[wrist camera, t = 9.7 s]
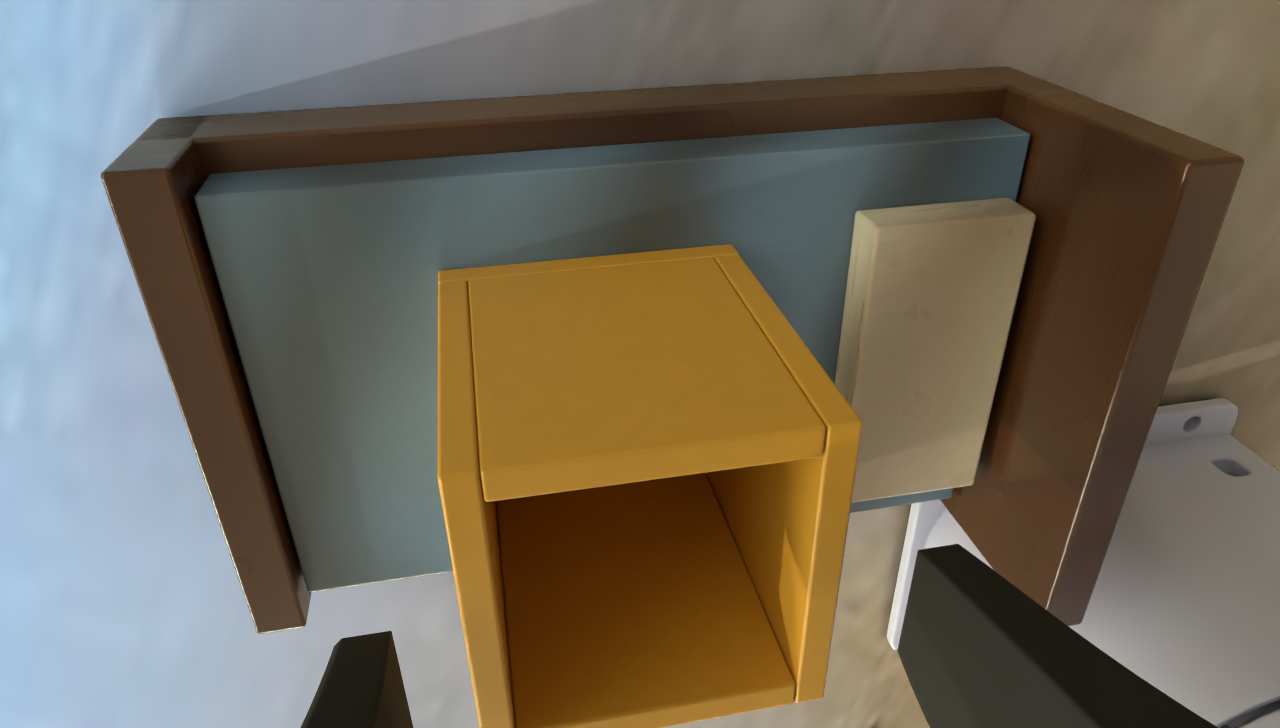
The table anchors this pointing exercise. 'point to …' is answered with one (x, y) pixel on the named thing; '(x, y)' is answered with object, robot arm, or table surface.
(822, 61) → the table surface
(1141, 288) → the toy bed
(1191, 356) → the table surface
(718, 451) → the small bin
